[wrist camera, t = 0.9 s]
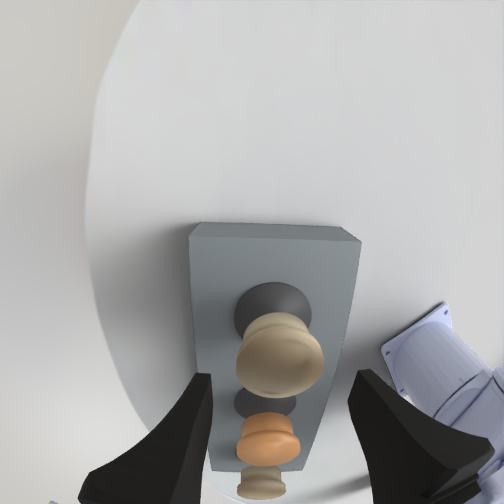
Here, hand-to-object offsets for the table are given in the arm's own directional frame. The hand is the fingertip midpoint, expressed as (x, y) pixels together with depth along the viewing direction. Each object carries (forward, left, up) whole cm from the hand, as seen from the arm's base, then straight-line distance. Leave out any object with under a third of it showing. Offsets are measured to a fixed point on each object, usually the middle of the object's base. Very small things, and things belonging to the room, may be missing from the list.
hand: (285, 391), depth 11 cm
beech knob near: (0, 0, -4) cm, 4 cm away
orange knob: (-7, +5, -4) cm, 9 cm away
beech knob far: (-13, +9, -4) cm, 16 cm away
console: (-7, +5, -10) cm, 13 cm away
